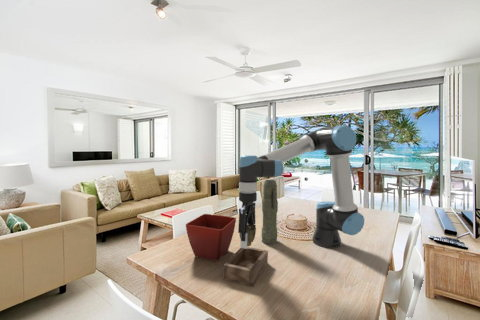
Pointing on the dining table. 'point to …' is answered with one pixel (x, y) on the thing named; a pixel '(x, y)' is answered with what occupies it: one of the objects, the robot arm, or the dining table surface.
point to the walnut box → (246, 266)
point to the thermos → (269, 212)
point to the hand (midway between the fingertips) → (247, 244)
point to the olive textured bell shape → (250, 234)
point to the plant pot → (210, 235)
